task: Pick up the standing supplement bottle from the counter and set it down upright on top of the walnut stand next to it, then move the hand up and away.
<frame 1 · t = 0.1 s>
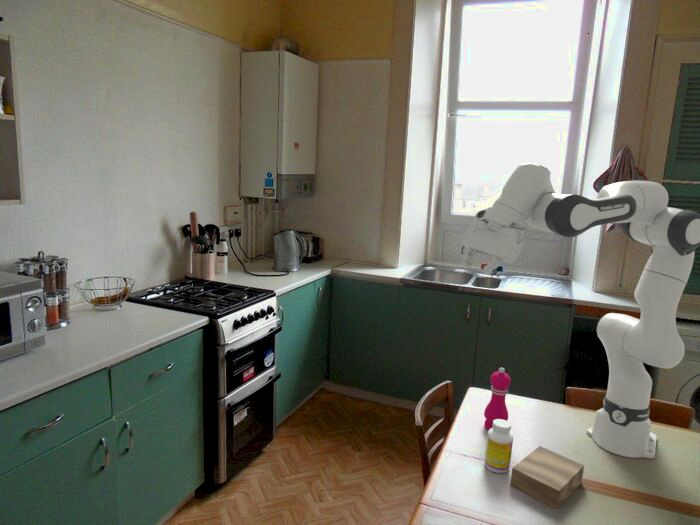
hand: (475, 269, 126), 54 cm above the table, tool tilted 30°, fingers open, 8 cm apart
supplement bottle: (496, 467, 137), on the table
walnut stand: (546, 484, 130), on the table
pepper mill: (494, 428, 158), on the table
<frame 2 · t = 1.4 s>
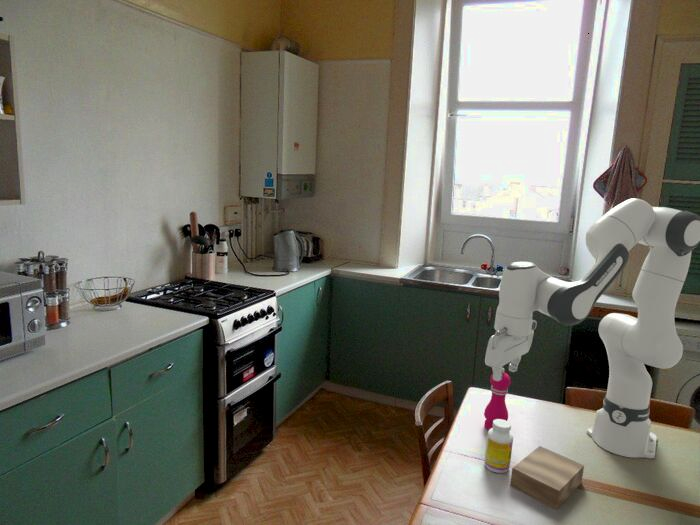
hand: (504, 375, 132), 26 cm above the table, tool pointing down, fingers open, 8 cm apart
nothing on the table moved.
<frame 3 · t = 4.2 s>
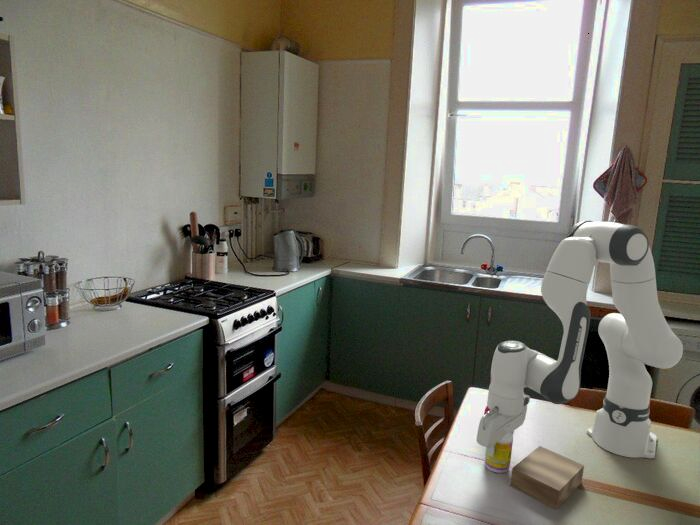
hand: (498, 449, 136), 5 cm above the table, tool pointing down, fingers closed on supplement bottle, 7 cm apart
supplement bottle: (496, 467, 137), on the table, touching gripper
everything else where it was.
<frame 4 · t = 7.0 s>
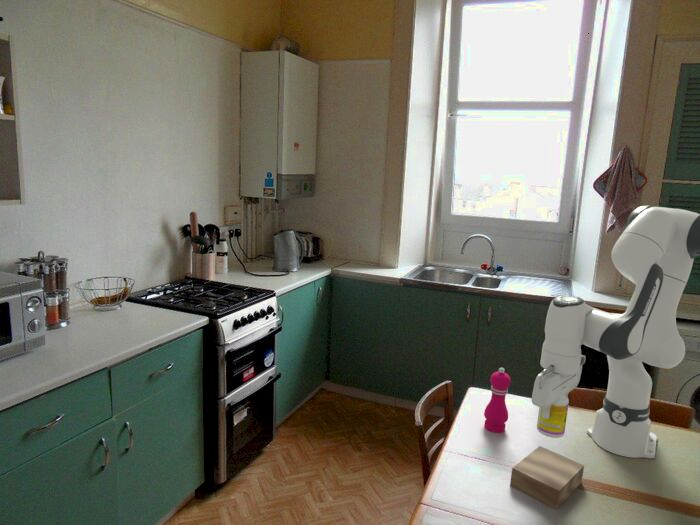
hand: (552, 412, 128), 20 cm above the table, tool pointing down, fingers closed on supplement bottle, 7 cm apart
supplement bottle: (550, 432, 129), point 14 cm above the table, touching gripper
everything else where it was.
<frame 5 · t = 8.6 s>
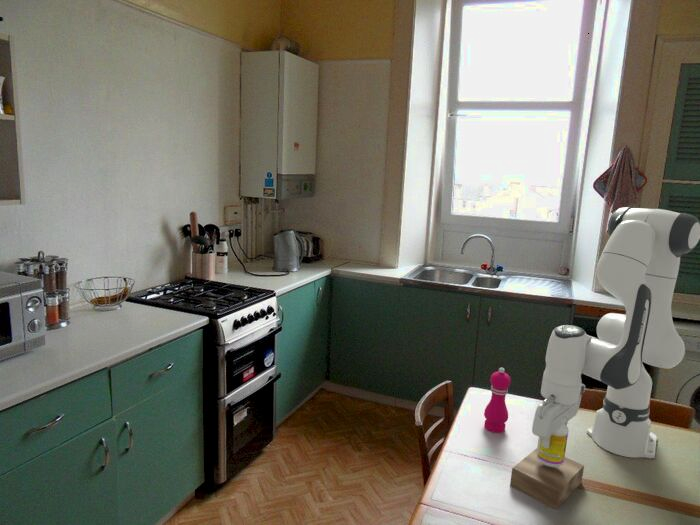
hand: (552, 441, 128), 12 cm above the table, tool pointing down, fingers closed on supplement bottle, 7 cm apart
supplement bottle: (549, 461, 129), point 6 cm above the table, touching gripper
everything else where it was.
when the fingers open (12 cm above the table, at t = 9.7 s): supplement bottle stays where it is, resting on walnut stand.
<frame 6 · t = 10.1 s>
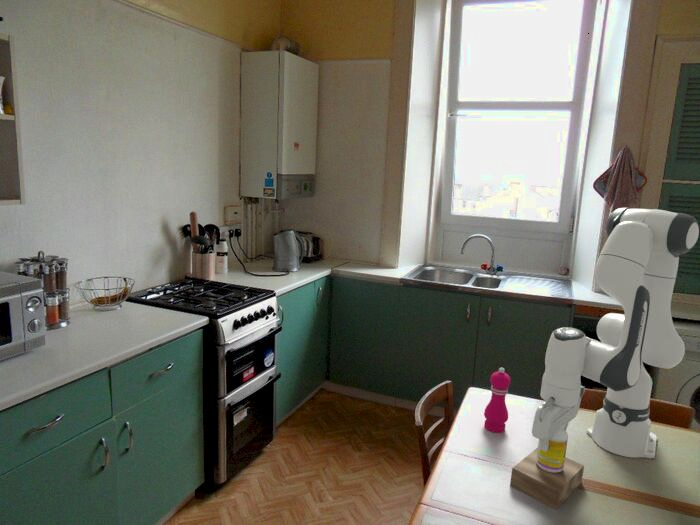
hand: (552, 443, 128), 12 cm above the table, tool pointing down, fingers open, 8 cm apart
supplement bottle: (549, 466, 130), point 5 cm above the table, touching walnut stand
everything else where it was.
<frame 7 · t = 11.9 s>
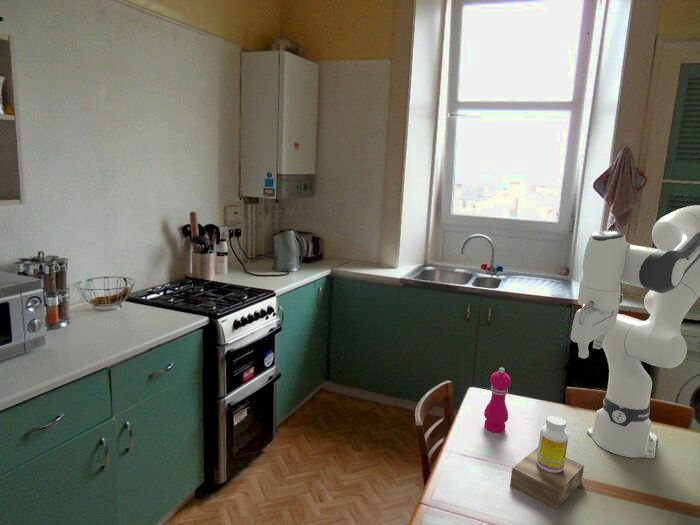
hand: (590, 352, 124), 36 cm above the table, tool pointing down, fingers open, 8 cm apart
nothing on the table moved.
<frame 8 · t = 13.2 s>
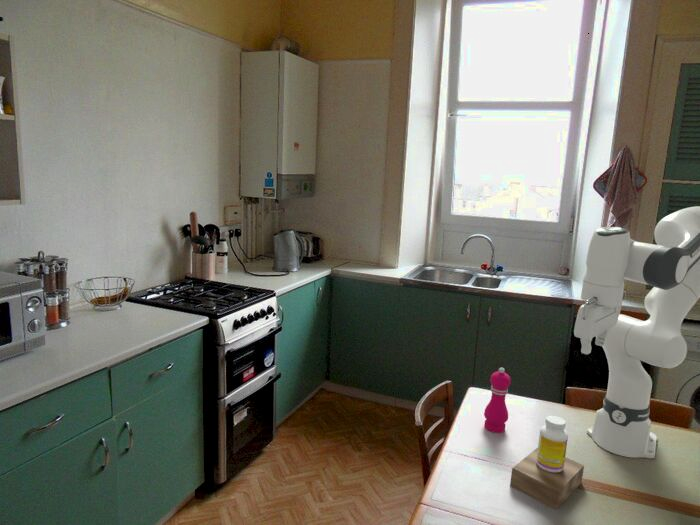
hand: (592, 349, 124), 37 cm above the table, tool pointing down, fingers open, 8 cm apart
nothing on the table moved.
at the end: supplement bottle inside the target area on the walnut stand (0.3 cm from its centre), point 4.8 cm above the walnut stand's base; supplement bottle tilted 1°; the gripper is holding nothing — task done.
